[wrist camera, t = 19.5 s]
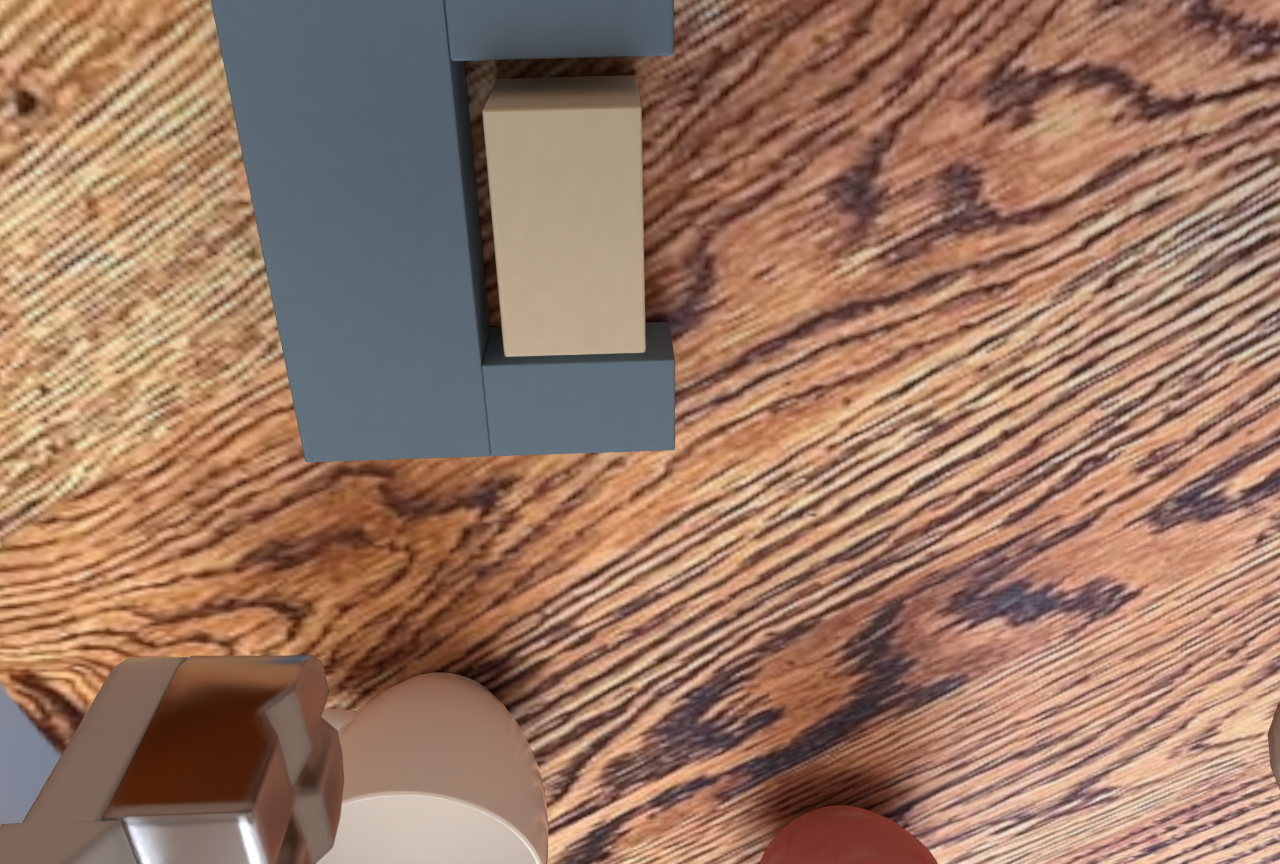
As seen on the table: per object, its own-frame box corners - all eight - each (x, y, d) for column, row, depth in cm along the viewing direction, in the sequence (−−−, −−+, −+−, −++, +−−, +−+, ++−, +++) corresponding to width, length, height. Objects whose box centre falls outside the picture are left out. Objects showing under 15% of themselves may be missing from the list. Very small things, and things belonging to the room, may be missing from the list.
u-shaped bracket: (232, -78, 24) (195, -70, 22) (666, -88, 24) (673, -81, 22) (326, 418, 30) (305, 463, 28) (669, 407, 31) (675, 450, 28)
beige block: (495, 77, 26) (481, 109, 23) (636, 74, 26) (641, 105, 23) (514, 303, 29) (504, 358, 26) (641, 299, 29) (645, 353, 26)
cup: (522, 812, 39) (508, 986, 33) (247, 759, 37) (181, 932, 31) (581, 659, 35) (577, 822, 29) (280, 592, 33) (212, 752, 28)
